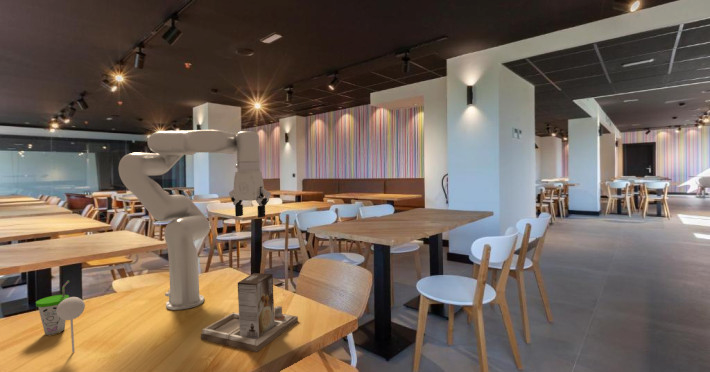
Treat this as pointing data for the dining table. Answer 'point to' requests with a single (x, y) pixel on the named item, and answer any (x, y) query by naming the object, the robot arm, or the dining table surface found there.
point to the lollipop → (70, 311)
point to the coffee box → (256, 305)
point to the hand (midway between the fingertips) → (250, 216)
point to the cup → (52, 312)
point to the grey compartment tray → (229, 335)
